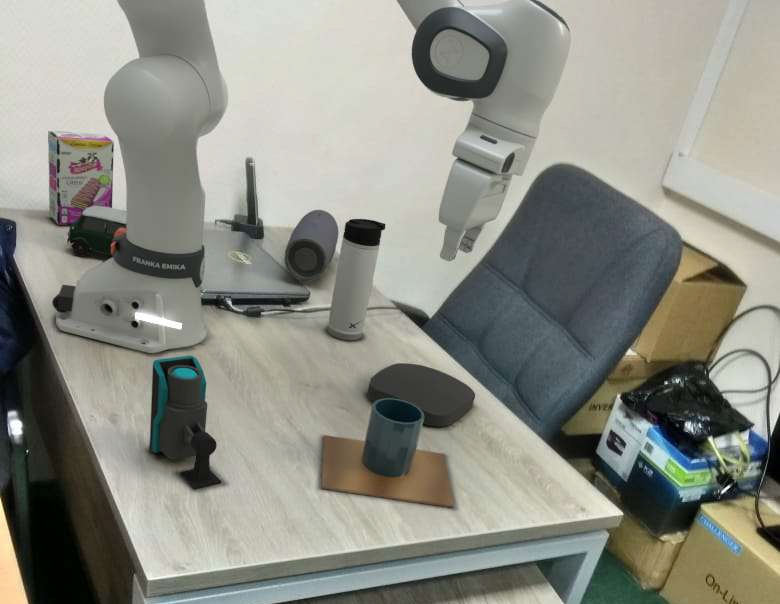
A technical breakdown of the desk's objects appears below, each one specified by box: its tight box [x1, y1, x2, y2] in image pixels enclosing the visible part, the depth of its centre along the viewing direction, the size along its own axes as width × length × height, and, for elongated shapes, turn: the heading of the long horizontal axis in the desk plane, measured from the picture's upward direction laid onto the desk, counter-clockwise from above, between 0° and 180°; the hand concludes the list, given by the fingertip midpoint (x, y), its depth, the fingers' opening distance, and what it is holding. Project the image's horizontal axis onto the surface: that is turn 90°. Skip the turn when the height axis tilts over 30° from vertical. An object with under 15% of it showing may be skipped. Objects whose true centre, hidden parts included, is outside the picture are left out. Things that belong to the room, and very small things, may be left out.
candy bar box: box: [47, 130, 115, 226], centre depth 158 cm, size 11×5×16 cm, turn 130°
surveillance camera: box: [149, 355, 222, 490], centre depth 95 cm, size 6×12×10 cm
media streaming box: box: [367, 362, 476, 427], centre depth 126 cm, size 15×15×3 cm
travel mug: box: [326, 218, 386, 341], centre depth 138 cm, size 6×7×20 cm
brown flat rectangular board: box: [321, 434, 454, 509], centre depth 107 cm, size 17×13×1 cm
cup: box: [362, 398, 424, 477], centre depth 106 cm, size 7×7×8 cm
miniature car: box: [66, 206, 126, 257], centre depth 149 cm, size 9×18×8 cm, turn 89°
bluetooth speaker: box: [284, 209, 339, 282], centre depth 165 cm, size 23×9×10 cm, turn 178°
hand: (455, 255), depth 109 cm, fingers open, 8 cm apart
